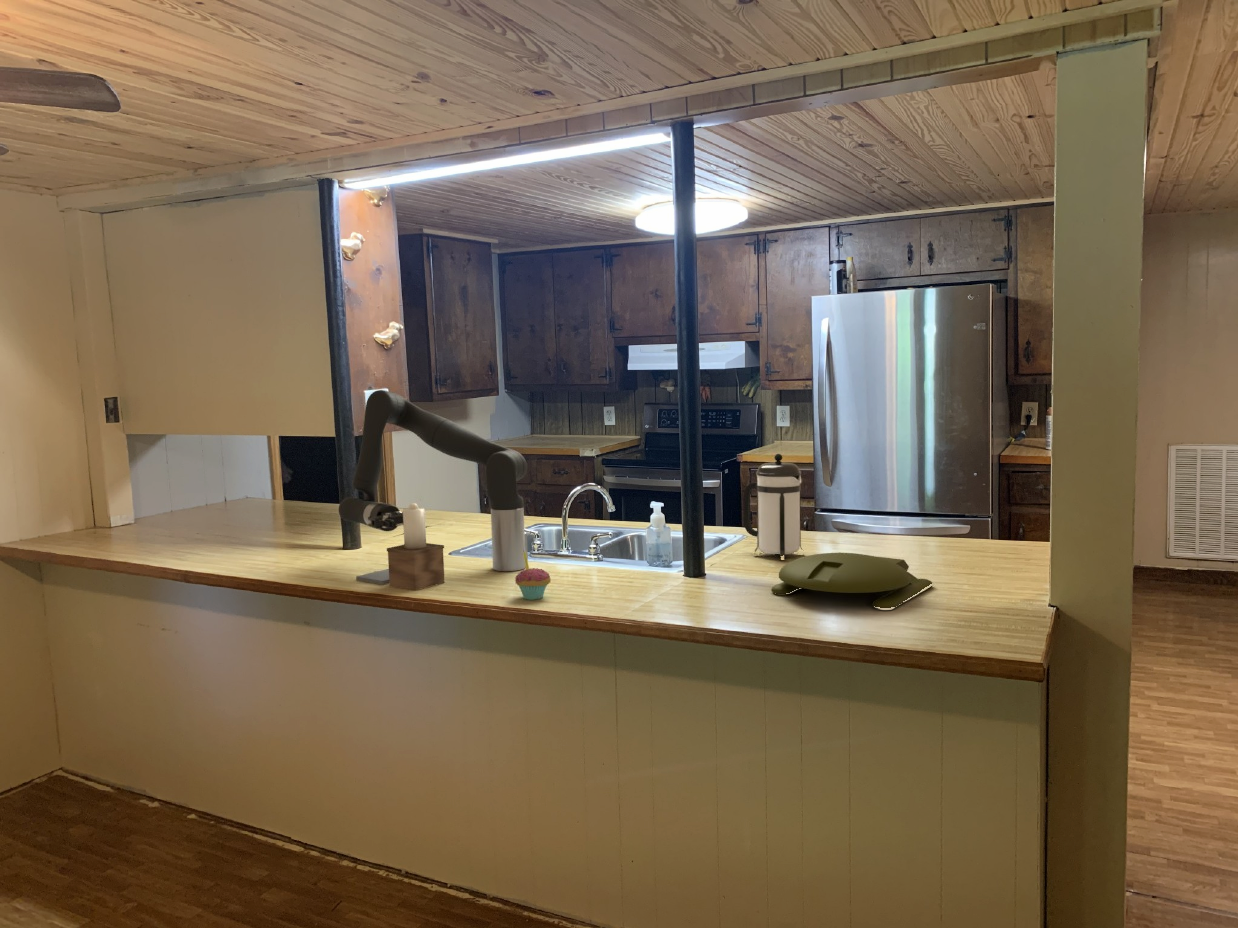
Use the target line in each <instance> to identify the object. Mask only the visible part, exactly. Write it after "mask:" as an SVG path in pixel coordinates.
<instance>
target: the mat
mask: <svg viewBox="0 0 1238 928" xmlns="http://www.w3.org/2000/svg"><path fill="white" fill-rule="evenodd" d="M355 579H356V581H360V582H366V583H371V584H377V585H387V584H388V585H389V568H385V569H382V570H378V571H373V572H369V573H365V574H361V575H357V576H355Z"/></svg>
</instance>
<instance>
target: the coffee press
mask: <svg viewBox="0 0 1238 928" xmlns="http://www.w3.org/2000/svg"><path fill="white" fill-rule="evenodd" d="M774 460H775V462H772V461H771V462H764V463H762V464H761V465H759V466H758V469H757V471H755V474H756V477H757V482H752V483H749V484H748V485H746V487H745V489H744V492H743V496H742V497H743V500H742V501H743V502H742V504H743V505H742V506H743V509H742V511H743V512H742V513H743V525H744V528H745V531H746V532H747V533H748V534H749V535H750V536H752V537H756V548H755V549H754V551H755V553H756V552H757V550H759V551H760V552H763V553H762V554H767V555H775V554H780V556H783V555H785V556H786V555H792V554H795V553H794V552H799V550H800V549H801V550H803V549H802V540H801V537H802V536H801V534H802V533H801V532H802V531H801V530H802V529H801V525H802V524H801V521H802V520H801V519H802V518H801V517H802V516H801V506H802V505H801V500H802V498H801V484H802V477H801V475H802V471H801V470H800V469H799V466H798V465H796V464H795V463H793V462H785V461H782V460H783V455H782V454H780V453H777V454H775V455H774ZM754 489H755V490H756V525H757V526H756V530H755V529H754V528H753V527H752V524H751V494H752V491H753V490H754ZM791 553H792V554H791ZM780 556H779V557H780Z"/></svg>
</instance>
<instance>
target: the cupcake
mask: <svg viewBox="0 0 1238 928" xmlns="http://www.w3.org/2000/svg"><path fill="white" fill-rule="evenodd" d="M523 551H524V549H523ZM523 554H524V560H525V565H526V567H525V569H522V571H521V570H520V571H519V572H518V573H517V575H516V576H515V580H514V581H515V584H516V585H517V586H518V587H519V589H520V591H521V594H522V597H523V599H524V600H531V601H532V600H539V599H542V598H543V597H544V595H545V591H546V587H547V586H548V585H549V584H551V581H552V579H551V576H550V573H548V572H547V571H546V570H544V569H542V568H538V567H537V568H530V567H529V562H528V561H527V556H526V552H524V553H523Z"/></svg>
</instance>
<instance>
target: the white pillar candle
mask: <svg viewBox="0 0 1238 928" xmlns="http://www.w3.org/2000/svg"><path fill="white" fill-rule="evenodd" d="M402 512H403V525H402V526H403V540H404V541H403V545H404V547H405V548H407V549H418V548H424V547H426V543H427V534H426V533H427V531H426V530H427V529H426V528H427V527H426V508H425V507H419V505H418V503H416V502H412V503H410V504H409V506H408V507H407V508H403V509H402Z"/></svg>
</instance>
